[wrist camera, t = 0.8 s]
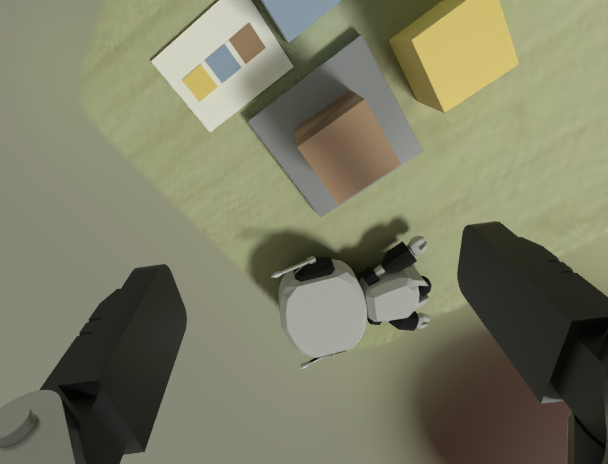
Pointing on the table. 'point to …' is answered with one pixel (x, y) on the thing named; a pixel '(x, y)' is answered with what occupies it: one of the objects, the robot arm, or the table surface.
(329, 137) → the brick walnut
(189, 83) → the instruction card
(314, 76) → the base plate
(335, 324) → the robot toy
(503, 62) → the yellow cube
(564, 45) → the table surface
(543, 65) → the table surface
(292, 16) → the brick blue
